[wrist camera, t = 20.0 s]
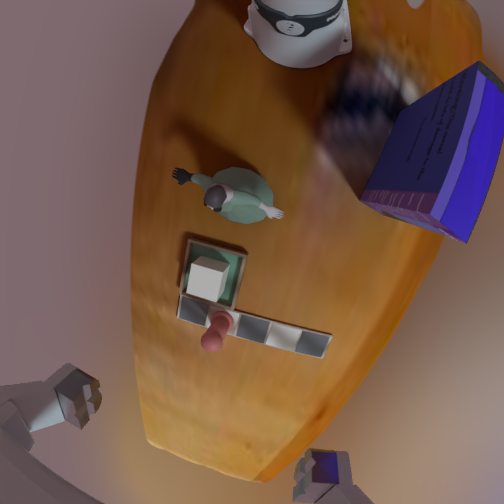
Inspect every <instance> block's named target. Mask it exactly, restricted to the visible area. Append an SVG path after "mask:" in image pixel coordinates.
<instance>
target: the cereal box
mask: <svg viewBox="0 0 504 504" xmlns="http://www.w3.org/2000/svg"><path fill="white" fill-rule="evenodd" d="M503 137H504V83H503V82H502V81H501V80H500V79H499V77H498V76H497V75H496V74H495V73H494V72H492V71H491V70H490V69H489V68H488V67H486V66H485V65H484V64H483V63H482V62H481V61H478V62H476V63H474V64H473V65H471V66H469V67H468V68H466V69H465V70H463V71H461V72H460V73H458V74H457V75H455V76H454V77H452V78H450V79H449V80H447V81H446V82H444V83H443V84H441V85H440V86H438V87H437V88H435V89H433V90H432V91H430V92H429V93H427V94H426V95H424V96H423V97H421V98H420V99H418V100H417V101H415V102H414V103H412V104H411V105H409V106H408V107H406V108H405V109H403V110H402V111H400V113H399V115H398V117H397V120H396V122H395V124H394V127H393V129H392V131H391V134H390V136H389V138H388V140H387V143H386V145H385V147H384V149H383V151H382V154H381V156H380V158H379V160H378V162H377V164H376V166H375V169H374V171H373V173H372V175H371V177H370V179H369V181H368V183H367V185H366V187H365V189H364V191H363V193H362V195H361V197H360V199H359V201H361V202H363V203H364V204H366V205H368V206H369V207H371V208H373V209H374V210H376V211H378V212H379V213H381V214H382V215H385V216H388V217H391V218H394V219H398V220H401V221H404V222H407V223H410V224H413V225H416V226H419V227H422V228H425V229H428V230H430V231H433V232H436V233H439V234H442V235H444V236H447V237H450V238H453V239H455V240H458V241H460V242H463V243H466V244H467V242H468V240H469V237H470V235H471V233H472V231H473V229H474V226H475V224H476V222H477V219H478V217H479V214H480V212H481V209H482V206H483V204H484V201H485V199H486V196H487V193H488V190H489V187H490V184H491V181H492V178H493V175H494V172H495V168H496V164H497V161H498V158H499V154H500V150H501V146H502V142H503Z"/></svg>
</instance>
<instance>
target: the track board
mask: <svg viewBox="0 0 504 504" xmlns="http://www.w3.org/2000/svg"><path fill="white" fill-rule="evenodd" d="M217 311H226V312H228V313H229V314H230V315H231V316H232V317H233V320H234V324H233V327H232V329H231V330H230V331H229V332H227V333H226V334H229V335H232V336H235V337H239V338H242V339H246V340H249V341H253V342H257V343H260V344H264V345H268V346H272V347H275V348H279V349H283V350H288V351H292V352H296V353H300V354H304V355H309V356H313V357H318V358H323V357H324V355H325V353H326V350H327V348H328V346H329V344H330V341H331V339H332V337H333V336H332V335H330V334H325V333H321V332H317V331H313V330H309V329H304V328H300V327H296V326H292V325H289V324H285V323H281V322H277V321H273V320H270V319H266V318H262V317H259V316H255V315H251V314H248V313H244V312H241V311H237V310H234V311H232V310H229V309H226V308H222V307H219V306H216V305H212V304H209V303H206V302H203V301H200V300H196V299H193V298H190V297H187V296H184V295H181V294H180V300H179V307H178V314H177V318H179V319H182V320H185V321H188V322H191V323H194V324H197V325H200V326H203V327H206V328H209V326H210V325H211V324H210V320H211V317H212V316H213V314H214V313H215V312H217Z"/></svg>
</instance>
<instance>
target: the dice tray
mask: <svg viewBox="0 0 504 504" xmlns="http://www.w3.org/2000/svg"><path fill="white" fill-rule="evenodd" d="M248 254H249V253H246V252H243V251H239V250H236V249H232V248H228V247H225V246H221V245H217V244H214V243H210V242H206V241H203V240H199V239H196V238H192V237H191V238H189V239H188V242H187V248H186V253H185V259H184V265H183V271H182V277H181V283H180V289H179V294H181V295H184V296H187V297H190V298H193V299H196V300H200V301H203V302H206V303H209V304H212V305H216V306H219V307H222V308H226V309H229V310H232V311H234V309H235V306H236V302H237V298H238V294H239V290H240V286H241V282H242V278H243V274H244V270H245V266H246V262H247V258H248ZM201 256H205V257H208V258H212V259H215V260H219V261H222V262H226V263H229V264H230V266H229V271H228V275H227V279H226V284H225V288H224V292H223V293H222V295H221V296H220V298H219V299H218V301H217V302H214V301H210V300H207V299H204V298H201V297H198V296H194V295H191V294H188V293H186V292H187V286H188V281H189V275H190V269H191V264H192V263H193V262H194V261H195V260H197V259H198V258H199V257H201Z"/></svg>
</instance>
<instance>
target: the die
mask: <svg viewBox="0 0 504 504" xmlns="http://www.w3.org/2000/svg"><path fill="white" fill-rule="evenodd" d="M229 266H230V264H229V263H226V262H222V261H219V260H215V259H212V258H208V257H205V256H201V257H199V258H198V259H197V260H195V261H194V262H193V263H192V264H191V269H190V275H189V281H188V286H187V292H186V293H188V294H191V295H194V296H198V297H201V298H204V299H207V300H210V301H214V302H217V301H218V299H219V298H220V296H221V295H222V293H223V292H224V288H225V284H226V279H227V275H228V271H229Z"/></svg>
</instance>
